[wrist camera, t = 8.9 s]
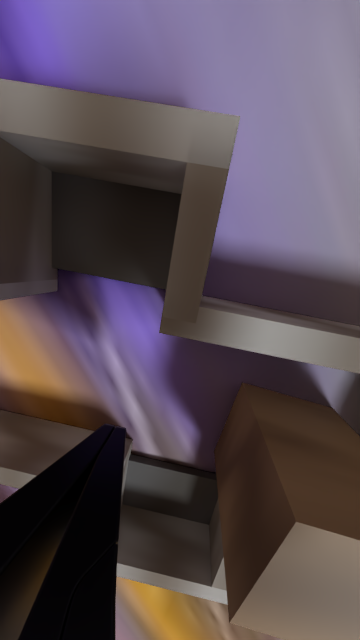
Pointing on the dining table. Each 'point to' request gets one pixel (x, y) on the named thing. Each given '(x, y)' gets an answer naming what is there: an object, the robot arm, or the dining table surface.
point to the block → (290, 517)
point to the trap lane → (140, 268)
